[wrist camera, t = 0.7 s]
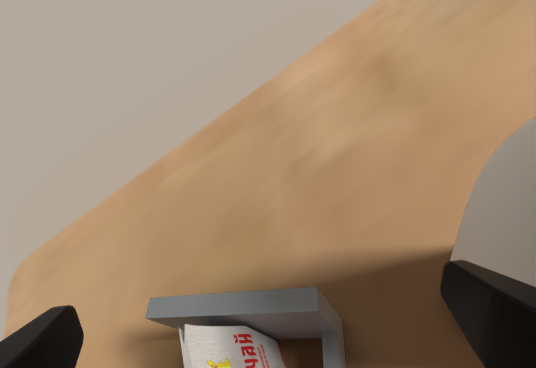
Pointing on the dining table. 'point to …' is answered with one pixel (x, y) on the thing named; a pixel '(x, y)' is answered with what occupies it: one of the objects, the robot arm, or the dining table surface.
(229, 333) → the grey angular block
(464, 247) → the milk bottle
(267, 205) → the dining table surface
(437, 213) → the dining table surface
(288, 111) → the dining table surface
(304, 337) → the lane
